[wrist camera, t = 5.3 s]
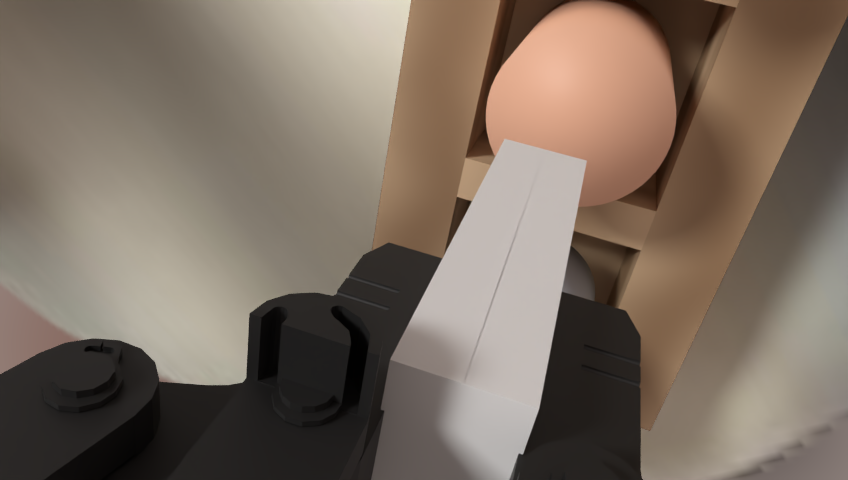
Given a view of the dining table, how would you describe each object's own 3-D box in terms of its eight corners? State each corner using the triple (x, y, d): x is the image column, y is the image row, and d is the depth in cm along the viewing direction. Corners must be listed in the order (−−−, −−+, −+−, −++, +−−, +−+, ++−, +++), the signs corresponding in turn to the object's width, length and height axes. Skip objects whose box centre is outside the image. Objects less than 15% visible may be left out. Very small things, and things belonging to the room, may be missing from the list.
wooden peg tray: (390, 284, 31) (359, 333, 28) (513, -403, 19) (484, -464, 16) (650, 367, 29) (650, 430, 26) (967, -341, 17) (1043, -395, 14)
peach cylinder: (506, 118, 25) (469, 179, 20) (541, -23, 23) (509, 4, 17) (642, 155, 24) (639, 227, 19) (693, 12, 22) (706, 52, 17)
